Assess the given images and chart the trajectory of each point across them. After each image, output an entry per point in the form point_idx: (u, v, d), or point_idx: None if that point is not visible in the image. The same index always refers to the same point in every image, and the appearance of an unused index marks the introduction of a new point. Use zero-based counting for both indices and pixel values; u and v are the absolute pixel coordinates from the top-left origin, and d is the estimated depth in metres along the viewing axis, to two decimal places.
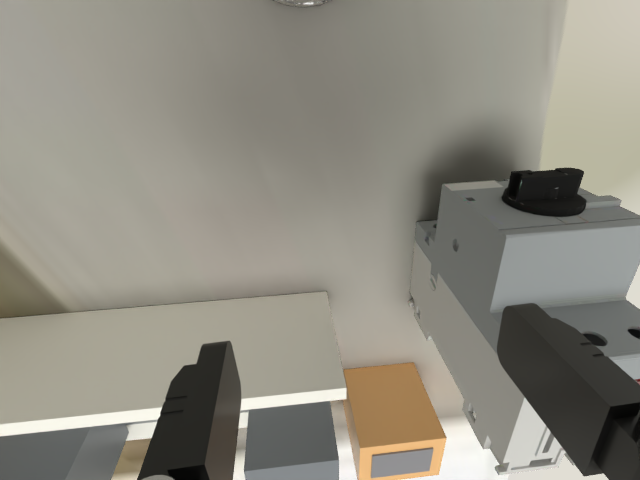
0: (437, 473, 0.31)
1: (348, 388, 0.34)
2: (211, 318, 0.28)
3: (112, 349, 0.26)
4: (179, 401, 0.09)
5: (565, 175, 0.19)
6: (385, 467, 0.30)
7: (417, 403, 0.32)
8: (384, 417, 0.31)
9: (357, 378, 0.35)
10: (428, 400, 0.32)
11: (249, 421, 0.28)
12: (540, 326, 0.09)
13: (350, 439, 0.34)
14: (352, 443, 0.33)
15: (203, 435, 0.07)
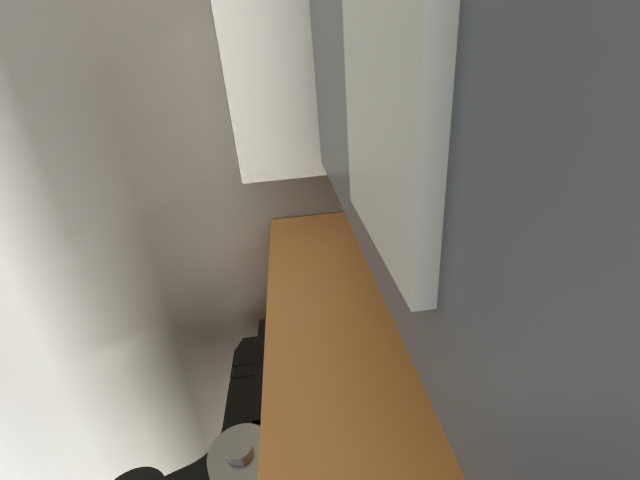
0: None
1: None
2: None
3: None
4: (246, 367, 0.09)
5: None
6: None
7: None
8: None
9: None
10: None
11: None
12: None
13: (283, 297, 0.07)
14: (331, 322, 0.06)
15: None
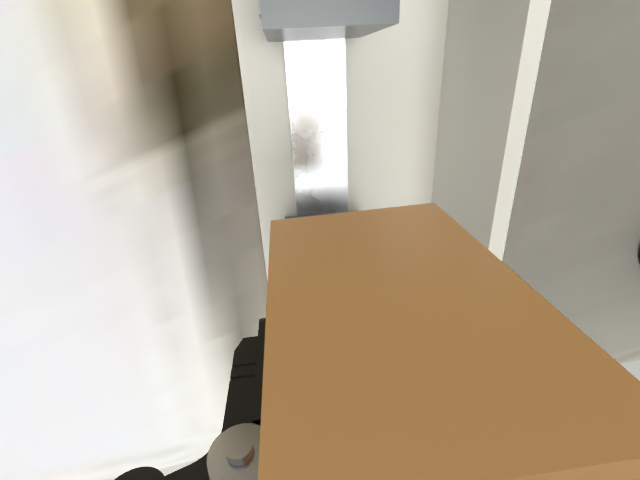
0: None
1: None
2: None
3: None
4: (246, 367, 0.09)
5: None
6: None
7: None
8: None
9: None
10: None
11: None
12: None
13: (283, 298, 0.07)
14: (331, 323, 0.06)
15: None
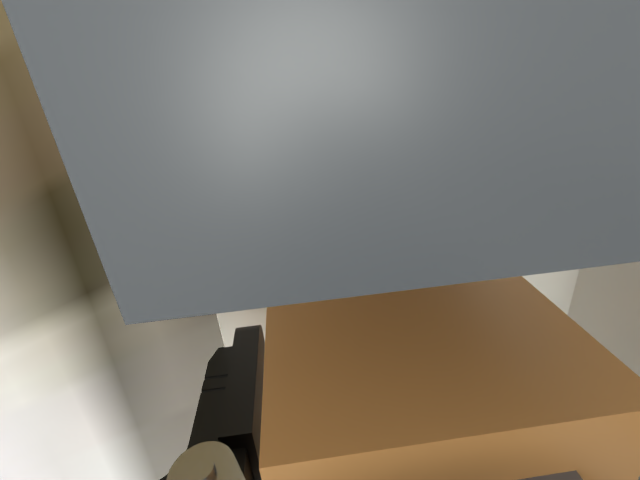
0: None
1: None
2: None
3: None
4: (218, 379, 0.09)
5: None
6: None
7: None
8: None
9: None
10: None
11: None
12: None
13: None
14: (328, 305, 0.07)
15: (247, 407, 0.08)
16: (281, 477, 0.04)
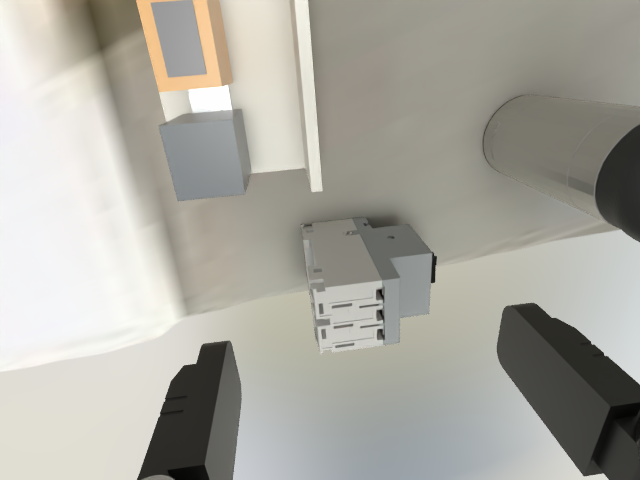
0: (161, 90, 0.29)
1: None
2: None
3: None
4: (179, 401, 0.09)
5: (434, 274, 0.41)
6: (172, 19, 0.27)
7: (224, 70, 0.32)
8: (215, 26, 0.30)
9: (219, 13, 0.33)
10: (227, 83, 0.33)
11: (237, 115, 0.34)
12: (540, 326, 0.09)
13: None
14: None
15: (203, 435, 0.07)
16: None
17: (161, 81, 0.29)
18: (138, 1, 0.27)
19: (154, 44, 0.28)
